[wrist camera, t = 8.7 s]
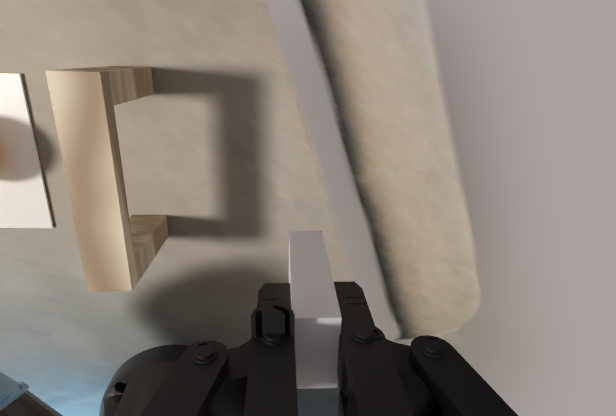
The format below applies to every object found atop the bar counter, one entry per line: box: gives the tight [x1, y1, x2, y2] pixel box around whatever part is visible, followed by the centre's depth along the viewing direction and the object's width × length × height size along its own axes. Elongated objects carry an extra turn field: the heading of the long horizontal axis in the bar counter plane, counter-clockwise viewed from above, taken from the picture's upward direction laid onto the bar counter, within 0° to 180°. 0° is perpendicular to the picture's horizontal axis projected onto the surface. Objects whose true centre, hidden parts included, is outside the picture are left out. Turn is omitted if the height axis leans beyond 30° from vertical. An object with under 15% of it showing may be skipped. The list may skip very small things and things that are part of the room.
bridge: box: [46, 66, 169, 291], centre depth 30 cm, size 3×14×9 cm, turn 178°
